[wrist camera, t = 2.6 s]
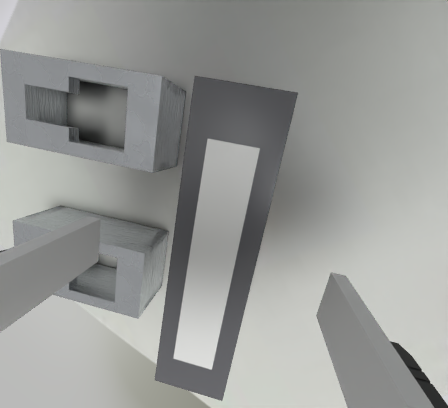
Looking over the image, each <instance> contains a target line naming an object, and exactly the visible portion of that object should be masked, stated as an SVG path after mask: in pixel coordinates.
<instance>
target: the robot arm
mask: <svg viewBox="0 0 448 408" xmlns="http://www.w3.org/2000/svg"><path fill="white" fill-rule="evenodd" d="M100 220H101V219H99V218H95V217H90V216H87V217H85V218H82V219H80V220H78V221H75V222H73V223H70V224H68V225H66V226H63V227H61V228H58V229H56V230H53V231H51V232H49V233H46V234H44V235H41V236H39V237H37V238H34V239H32V240H29V241H27V242H25V243H22V244H20V245H17V246H15V247H13V248H10V249H7V250H3V251H0V332H1V331H3V330H4V329H5V328H7V327H8V326H10V325H11V324H12V323H14V322H15V321H17V320H18V319H19V318H21V317H22V316H24V315H25V314H26V313H28V312H29V311H30V310H32V309H33V308H35V307H36V306H37V305H39V304H40V303H41V302H43V301H44V300H46V299H47V298H48V297H50V296H51V295H53V294H54V293H55V292H57V291H58V290H59V289H61V288H62V287H64V286H65V285H66V284H68V283H69V282H70V281H72V280H73V279H75V278H76V277H77V276H79V275H80V274H81V273H83V272H84V271H86V270H87V269H88V268H90V267H91V266H93V265H94V264H95V263H97V262H98V261H99V242H100ZM316 316H317V319H318V322H319V325H320V328H321V331H322V334H323V336H324V339H325V342H326V345H327V348H328V351H329V354H330V357H331V360H332V363H333V366H334V369H335V372H336V375H337V378H338V380H339V383H340V386H341V389H342V392H343V395H344V398H345V401H346V404H347V407H348V408H448V405H447V404H446V402H445V401H444V400H443V398H442V397H441V396H440V394H439V393H438V391H437V390H436V389H435V387H434V386H433V385H432V384H430V380H429V379H428V378H427V376H426V375H425V374H424V372H422V371H421V370H422V369H421V368H420V367H419V365H418V364H417V363H416V361H415V360H414V358H413V357H412V356H411V355H410V354H409V353H408V352H407V351H406V350H405V349H404V348H402V347H401V346H400V345H399V344H398V343H394V342H390V341H389V339H388V338H387V336H386V335H385V333H384V332H383V330H382V329H381V327H380V326H379V324H378V323H377V321H376V320H375V318H374V317H373V315H372V314H371V312H370V311H369V310H368V308H367V307H366V305H365V304H364V302H363V301H362V299H361V298H360V296H359V295H358V293H357V292H356V290H355V289H354V287H353V286H352V284H351V283H350V281H349V280H348V278H347V277H346V276H344V275H340V274H336V273H332V272H331V274H330V277H329V280H328V283H327V286H326V289H325V292H324V295H323V298H322V300H321V303H320V306H319V309H318V312H317V315H316Z"/></svg>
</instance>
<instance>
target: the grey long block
mask: <svg viewBox="0 0 448 408" xmlns="http://www.w3.org/2000/svg"><path fill="white" fill-rule="evenodd" d="M297 95H298V93H296V92H290V91H284V90H278V89H272V88H266V87H260V86H254V85H247V84H241V83H235V82H229V81H223V80H217V79H211V78H205V77H199V76H195V79H194V86H193V94H192V101H191V109H190V116H189V124H188V132H187V139H186V147H185V154H184V162H183V170H182V177H181V185H180V192H179V200H178V207H177V215H176V223H175V230H174V238H173V245H172V253H171V260H170V268H169V276H168V283H167V291H166V298H165V306H164V314H163V321H162V329H161V336H160V344H159V351H158V359H157V367H156V374H155V380H156V381H159V382H162V383H166V384H169V385H172V386H175V387H179V388H182V389H185V390H188V391H192V392H195V393H198V394H201V395H205V396H208V397H211V398H214V399H218V400H221V401H222V400H223V396H224V392H225V388H226V384H227V379H228V375H229V371H230V367H231V363H232V359H233V355H234V351H235V347H236V343H237V339H238V335H239V331H240V327H241V323H242V318H243V314H244V310H245V306H246V302H247V298H248V294H249V290H250V286H251V282H252V278H253V274H254V270H255V266H256V261H257V257H258V253H259V249H260V245H261V241H262V237H263V233H264V229H265V225H266V221H267V217H268V213H269V209H270V205H271V200H272V196H273V192H274V188H275V184H276V180H277V176H278V172H279V168H280V164H281V160H282V156H283V152H284V148H285V144H286V139H287V135H288V131H289V127H290V123H291V119H292V115H293V111H294V107H295V103H296V99H297Z"/></svg>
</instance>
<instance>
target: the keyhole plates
mask: <svg viewBox="0 0 448 408" xmlns="http://www.w3.org/2000/svg"><path fill="white" fill-rule="evenodd" d="M0 54H1V67H2V81H3V95H4V109H5V122H6V136H7V142H10V143H15V144H20V145H24V146H29V147H34V148H38V149H43V150H48V151H53V152H57V153H62V154H67V155H71V156H76V157H81V158H86V159H90V160H95V161H100V162H105V163H109V164H114V165H119V166H123V167H128V168H133V169H138V170H142V171H147V172H152V173H153V172H157V171H161V170H164V169H168V168H172V167H175V166H177V159H178V151H179V143H180V135H181V127H182V119H183V111H184V103H185V95H186V92H185V91H184V90H182V89H181V88H179V87H178V86H176V85H175V84H173V83H172V82H170V81H169V80H167V79H166V78H164V77H163V76H160V75H154V74H148V73H142V72H136V71H130V70H124V69H118V68H112V67H106V66H100V65H94V64H88V63H82V62H76V61H70V60H64V59H58V58H52V57H46V56H40V55H34V54H28V53H22V52H16V51H10V50H4V49H0ZM79 81H83V82H89V83H95V84H101V85H106V86H112V87H118V88H123V89H128V95H127V111H126V127H125V143H124V149H122V148H118V147H113V146H108V145H103V144H98V143H93V142H88V141H83V140H79V128H75V127H70V126H67V93H72V94H78V95H79ZM87 216H90V217H95V218H99V219H101V220H100V242H99V253H100V254H104V255H108V256H112V257H116V258H117V269H115V268H111V267H107V266H104V265H100V264H96V263H95V264H94V265H93V266H91V267H90V268H88V269H87V270H86V271H84V272H83V273H81V274H80V275H79V276H77V277H76V278H75V279H73V280H72V281H70V282H69V283H68V284H66V285H65V286H64V287H62V288H61V289H59V290H58V291H57V292H55V293H54V294H53V295H56V296H59V297H63V298H67V299H70V300H74V301H77V302H81V303H84V304H88V305H92V306H95V307H99V308H102V309H106V310H109V311H113V312H116V313H120V314H124V315H127V316H131V317H134V318H138V319H139V317H140V316H141V314H142V313H143V311H144V310H145V309H146V307H147V306H148V304H149V303H150V302H151V300H152V299H153V297H154V296H155V294H156V293H157V292H158V290H159V289H160V287H161V286H162V279H163V271H164V263H165V255H166V247H167V239H168V231H165V230H161V229H157V228H153V227H148V226H144V225H140V224H136V223H132V222H127V221H123V220H119V219H115V218H110V217H106V216H102V215H98V214H94V213H89V212H85V211H81V210H77V209H72V208H68V207H64V206H58V207H55V208H52V209H48V210H45V211H42V212H39V213H36V214H32V215H29V216H26V217H23V218H20V219H16V220H13V233H14V246H17V245H20V244H22V243H25V242H27V241H29V240H32V239H34V238H37V237H39V236H41V235H44V234H46V233H49V232H51V231H53V230H56V229H58V228H61V227H63V226H66V225H68V224H70V223H73V222H75V221H78V220H80V219H82V218H85V217H87Z"/></svg>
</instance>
